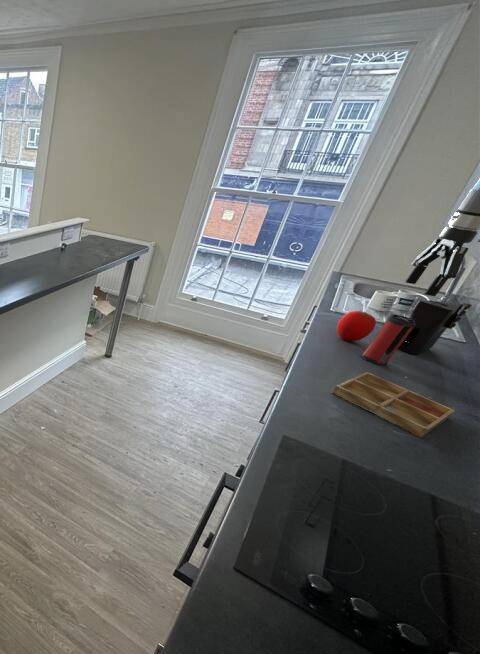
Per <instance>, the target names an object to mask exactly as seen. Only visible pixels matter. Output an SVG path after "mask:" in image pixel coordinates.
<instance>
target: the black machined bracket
mask: <svg viewBox="0 0 480 654" xmlns="http://www.w3.org/2000/svg"><path fill="white" fill-rule="evenodd" d="M472 305H473V304H471V303H466V302H463V303H461V304H460V305H459V306H457V305H456V304H453V303H450V302H447V301H438V300H433V299H432V300H431V299H429V300H423V299H419V300H418V301H417V303H416V304H415V306H414V307H413V308H412V310H411V313H410V314H409V316H408V318H410V319H412V320H414V321H415V323H416V326H415V327H413V328H412V330H411V331H410V333H409V334H408V335H407V337H406V338H405V339H404V341H403V342H402V343H401V345H400V346H399V347H398V349H397V350H399V349H400V350H399V351H402V350H403V351H402V352H404V351H405V353H407V352H408V353H407V354H409V355H410V354H411V355H416V356H417V355H421V354H423V353H425V352H427V351H428V350H430V349H432V348H433V347H434V346H435V344H436V343H437V342H438V340H439V339H440V338H441V336H442V335H443V334H444V333H445V331H447V329H449V330H451V329H454V328H455V327H456V326H457V324H458V322H460V321H461V320H462V316H465V315H466V313H468V311H467V310H469V309H471V307H472ZM405 341H407V342H409V343H410V344H408V346H406V345H404V343H406V342H405Z"/></svg>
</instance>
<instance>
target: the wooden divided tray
mask: <svg viewBox="0 0 480 654" xmlns="http://www.w3.org/2000/svg"><path fill="white" fill-rule="evenodd" d="M332 393H334V394H336V395H338V396H340V397H342V398H344V399H346V400H348V401H351V402H353V403H355V404H358V405H360V406H362V407H364V408H366V409H368V410H371V411H373V412H375V413H377V414H379V415H381V416H383V417H385V418H387V419H388V420H391V421H392V422H394V423H396V424H398V425H399V426H400V427H402V428H403V429H402V428H401V429H402V430H404V429H405V430H404V431H406V430H407V431H406V432H408V431H409V432H408V433H410V432H411V433H410V434H412V435H414V436H415V437H418V438H421V439H422V438H423V437H424V436H426V435H427V434H428V433H430V432H431V431H433V430H434V429H436V428H437V427H438V426H440V425H442V424H443V423H445V421H447V420H448V419H449V418H450V417H451V416H452V415H453V414H454V413H455V412H456V410H455V409H453V408H451V407H448V406H446V405H444V404H442V403H439V402H436V401H435V400H432V399H430V398H427V397H425V396H423V395H421V394H419V393H417V392H414V391H412V390H410V389H407V388H404V387H402V386H400V385H398V384H396V383H394V382H391V381H389V380H386V379H384V378H382V377H379V376H378V375H375V374H373V373H370V372H368V371H366V372H364V373H362V374H359V375H358V376H355V377H352V378H351V379H348V380H347V381H344V382H342V383H339V384H337V385H336V386H335V387H334V389H333V390H332V392H331V394H332ZM334 394H333V395H334ZM336 395H335V396H336ZM338 396H337V397H338ZM340 397H339V398H340ZM342 398H341V399H342ZM344 399H343V400H344ZM346 400H345V401H346ZM348 401H347V402H348ZM379 402H380V403H381V404H380V405H378V403H379ZM386 407H391V408H392V407H393V410H392V411H390V410H388V409H386ZM394 408H395V411H394ZM439 424H440V425H439ZM400 427H399V428H400ZM432 429H433V430H432ZM425 434H426V435H425Z"/></svg>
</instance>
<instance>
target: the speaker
mask: <svg viewBox="0 0 480 654" xmlns="http://www.w3.org/2000/svg"><path fill="white" fill-rule="evenodd" d="M408 317H409V316H408ZM408 317H407V316H404V315H401V314H392V315H388V316H387V318H386V320H385V322H384V323H383V325H382V326H381V327H380V329H379V330H378V332H377V333H376V335H375V336H374V337H373V339H372V340H371V342H370V343H369V344H368V345H367V347H366V349H365V350H364V351H363V352H362V353H361V355H360V356H361V358H362V359H363V360H365V361H368V362H369V363H371V364H374V365H375V364H376V365H379V366H385V365H388V363H389V361H390V359H391V358H392V357H393V355H394V354H395V353H396V352H397V350H399V349H398V347H399V346H400V345H401V343H402V342H403V341H404V339H405V338H406V337H407V335H408V334H409V333H410V331H411V330H412V328H413V327H415V326H416V323H415V321H414V320H412V319H410V318H408Z"/></svg>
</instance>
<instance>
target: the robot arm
mask: <svg viewBox="0 0 480 654" xmlns="http://www.w3.org/2000/svg"><path fill="white" fill-rule="evenodd" d="M447 224H448V225H446V226H445V227H444V228H443V230H442V231H441V233H440V234H439V238H438V237H437V238H435V239H434V241H433V242H432V243H431V244H430V245H429V246H428V247H427V248H426V249H425V250H424V251H422V252H421V253H420V254H419V255H418V256H417V257H416V258H415V260H414V262H416V263H415V266H414V268H413V270H411V272H410V274H409V275H408V276H407V278H406V279H405V281H404V283H406V284H411V285H416V284H417V283H418V281H419V280H420V278H421V277H422V275H423V274H424V272H425V271H426V270H427V268H428V266H429V264H431V263H433V262H434V261H435V260H437V259H438V258H441V259H442V261H441V267H440V271H439V274H437V275H435V278H434V279H433V280H432V282H431V283H430V284H429V286H428V287H427V289H426V290H425V291H424V293H423V295H425V296H431V297H436V296H437V295H438V293H439V292H440V291H441V289H442V288H443V287H444V285H445V283H446V282H447V281H448V280H449V279H456V278H457V276H458V274H459V271H460V268H461V266H462V263H463V261H464V258H465V256H466V254H467V252H468V251H469V247H465V246H464V244H469V243H472V242H473V241H474V240H475V237H476V236H477V235H478V231H480V178H479V179H478V180H477V182H476V183H475V184H474V186H473V187H472V188H471V189H470V190H469V192H468V193H467V195H466V197H465V198H464V199H463V201H462V202H461V204H460V205H459V207H458V208H457V209H456V211H455V212H454V214H453V215H451V217H450V220H449V222H448V223H447Z"/></svg>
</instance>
